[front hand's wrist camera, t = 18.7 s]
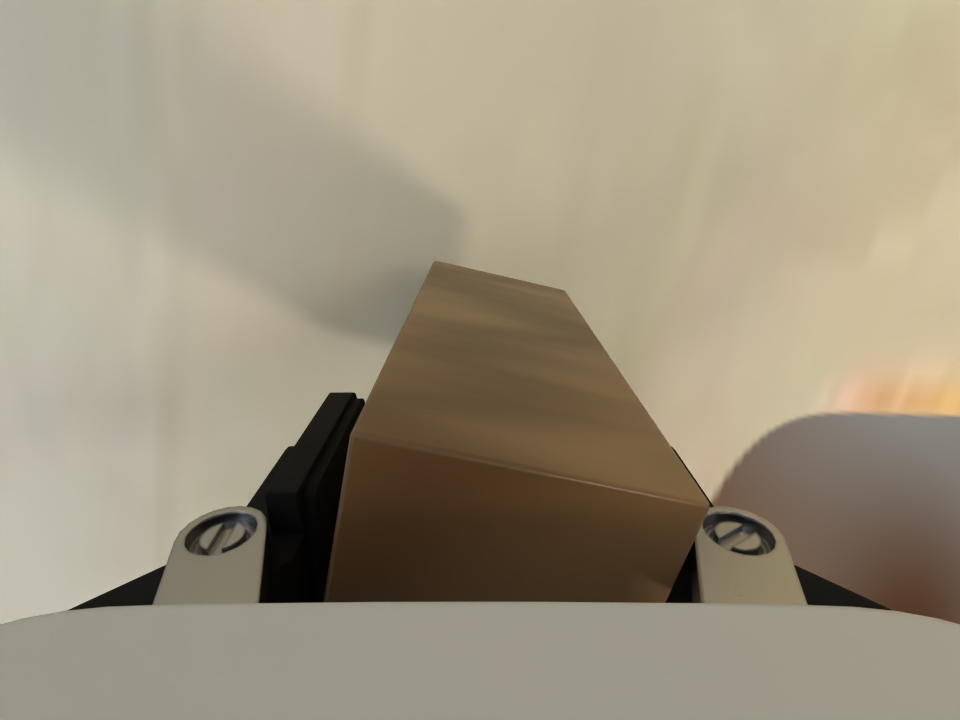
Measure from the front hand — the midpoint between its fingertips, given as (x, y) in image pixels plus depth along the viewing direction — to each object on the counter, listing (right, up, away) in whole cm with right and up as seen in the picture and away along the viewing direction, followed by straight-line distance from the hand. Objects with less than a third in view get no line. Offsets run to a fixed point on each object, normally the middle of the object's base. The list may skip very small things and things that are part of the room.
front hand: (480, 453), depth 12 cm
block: (0, +2, +6) cm, 7 cm away
